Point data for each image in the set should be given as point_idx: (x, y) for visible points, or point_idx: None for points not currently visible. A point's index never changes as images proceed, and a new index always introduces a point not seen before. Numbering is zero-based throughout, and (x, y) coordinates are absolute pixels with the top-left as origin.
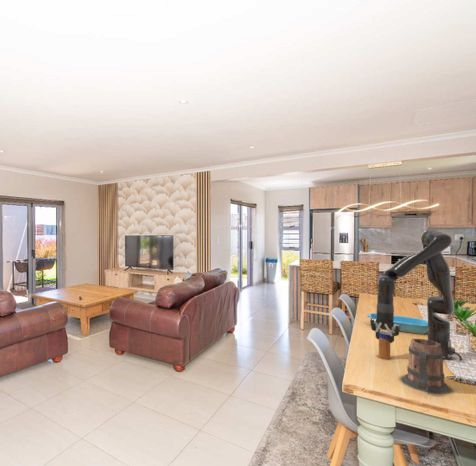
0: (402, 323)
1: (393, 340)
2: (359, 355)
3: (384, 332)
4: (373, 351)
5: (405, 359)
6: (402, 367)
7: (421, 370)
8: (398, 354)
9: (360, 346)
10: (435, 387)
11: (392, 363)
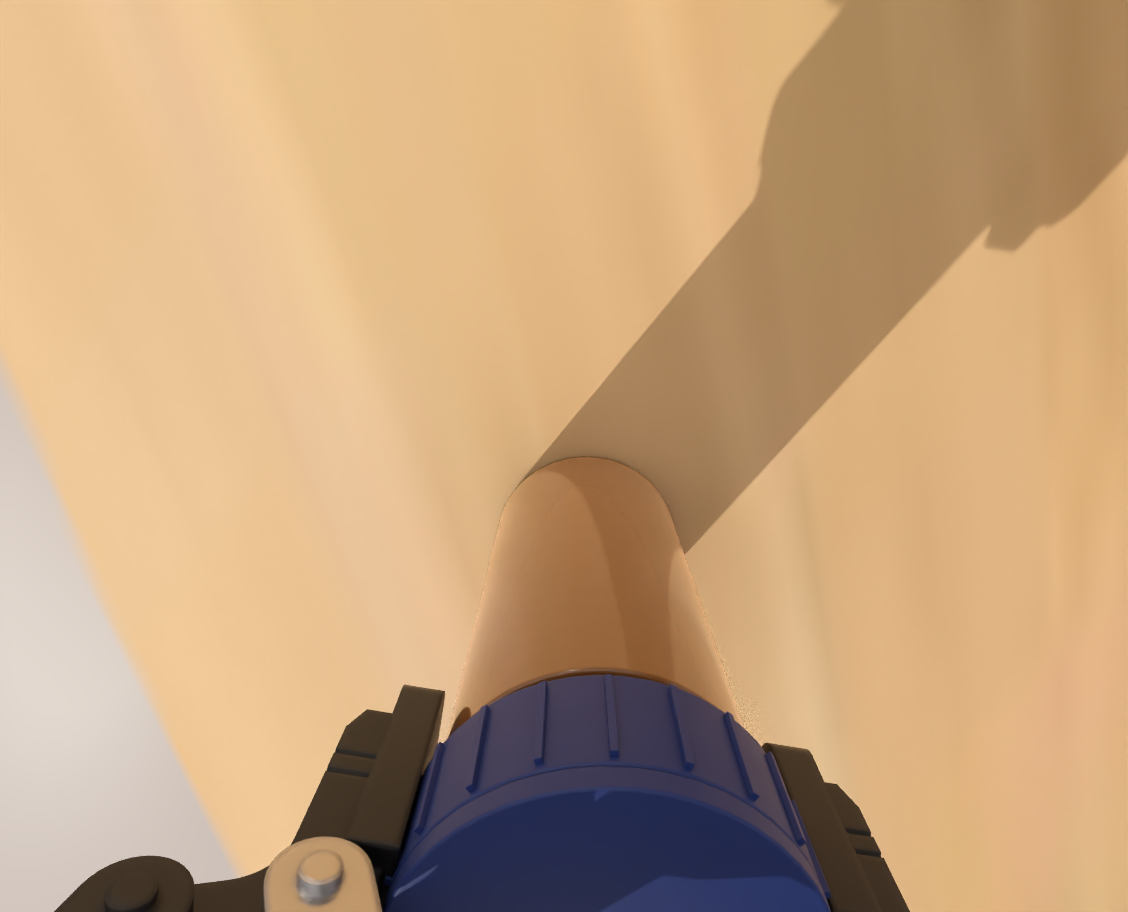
0: None
1: (851, 835)
2: (287, 746)
3: None
4: (345, 338)
5: (882, 350)
6: (891, 788)
7: None
8: (733, 119)
9: (52, 208)
10: None
11: (749, 728)
